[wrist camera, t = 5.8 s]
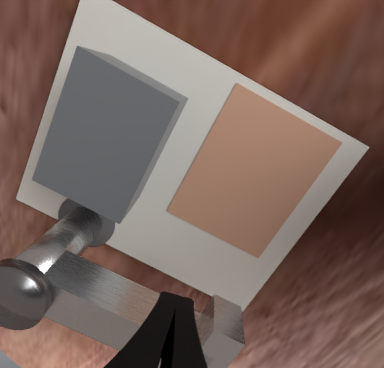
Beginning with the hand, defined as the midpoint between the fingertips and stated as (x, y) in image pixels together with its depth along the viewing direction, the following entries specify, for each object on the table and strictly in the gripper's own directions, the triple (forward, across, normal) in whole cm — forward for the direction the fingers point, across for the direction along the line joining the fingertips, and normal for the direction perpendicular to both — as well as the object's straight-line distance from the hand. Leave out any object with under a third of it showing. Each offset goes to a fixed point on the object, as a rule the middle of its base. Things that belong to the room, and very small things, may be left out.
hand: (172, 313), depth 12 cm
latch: (+7, +3, +2) cm, 8 cm away
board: (+9, +2, -3) cm, 9 cm away
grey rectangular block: (+8, +5, -5) cm, 11 cm away
